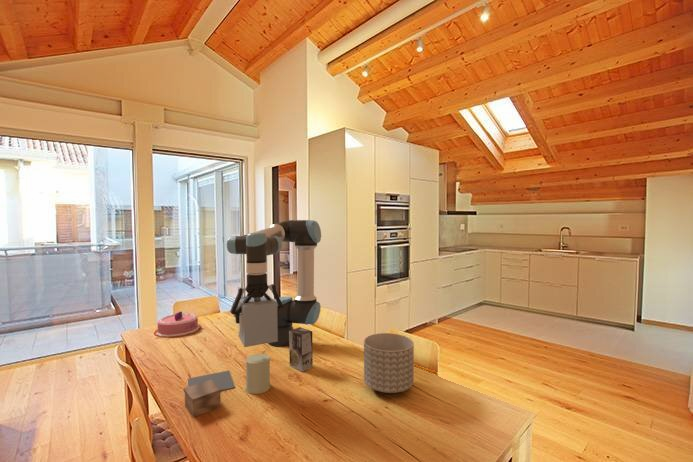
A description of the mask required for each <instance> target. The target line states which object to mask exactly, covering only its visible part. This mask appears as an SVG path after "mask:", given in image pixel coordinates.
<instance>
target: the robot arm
mask: <svg viewBox="0 0 693 462" xmlns="http://www.w3.org/2000/svg"><path fill="white" fill-rule="evenodd" d="M321 238H322V230H321V226H320V224H319V222H317V221H316V220H311V219H302V220H301V219H289V220H284V221H280V222H277V223H274V224H272V225H270V226H269V227H268V228H265V229H261V230H258V231H254V232H249V233H247V234H244V235H233V236H232V235H231V236H229V237H228V239H227V241H226V250H227V251H228V252H229V253H230V254H233V255H246V287H241V286H239V287H238V289H237V295H236V297H235V299H234V301H233V302H232V305H233V306H232V305H231V308H230V313H231V315H233V314H235V315H236V318H235V323H236V324H238V333H239V332H240V333H241V332H242V315H241V311H242V309H241V305H240V306H239V307H238V309H237V310H236V308H237V306H238V304H239V301H240V299H241V297H243V294H245V292H246V293H247V294H246V295H245V297H246V298H245V299H244V300H243V303H248V302H249V300H251V298H257V297H260V298H261V297H263V296H264V297H265V298H266V299H267V300H271V298H272V297H271V296H270V295H268V293H267V292H268V290H269V291H270V292H271V293H272V295H273V297H274V298H272V299H273V300H275V301H276V302H277V325H278V341H277V342H272V343H267V344H268V345H270V346H274V347H286V346H289V331H290V330H293V329H294V327H293V324H298V325H299V324H301V325H314V324H316V323H317V321H318V320H319V318H320V313H321V303H320V302H319V301H318V300H317V299H318V298H317V296H316V295H315V290H314V289H315V287H314V286H315V249H316V248H317V247H318V244H319V243H320V242H321V240H322V239H321ZM284 242H286V243H294V247H295V248H296V249H297V267H296V268H297V279H296V281H297V282H296V283H297V286H296V287H297V288H296V289H297V290H296V292H297V293H296V296H295V297H294V298H293V297H292V296H288V295H287V296H279V294H278V291H277V288H276V284H273V283H271V284H268V274H267V272H268V259H267V258H268V256H271V255H273V256H274V255H276V254H278V253H279V252H280V251H282V248H283V243H284ZM269 296H270V297H271V298H270V297H269Z"/></svg>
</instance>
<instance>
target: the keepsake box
mask: <svg viewBox="0 0 693 462" xmlns="http://www.w3.org/2000/svg"><path fill="white" fill-rule="evenodd" d="M183 392H184V406H185V408H186V410H188V412H189V413H190V415H192V417H193V418H196V417H197V416H200V415H203V414H205V413H208V412H210V411H213V410H216V409H218V408H221V406H222V405H221V402H222V401H221V399H222V398H221V393H223V392H222V389H221V388H220V387H219V386H218V385H217V384H216V383H214V382H213V381H212V380H208V381H205V382H202V383H199V384H196V385H192V386H189V387H188V386H186V387H184V388H183Z"/></svg>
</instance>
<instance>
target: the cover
mask: <svg viewBox="0 0 693 462" xmlns="http://www.w3.org/2000/svg"><path fill="white" fill-rule="evenodd" d="M268 296H269V297H270V298H271V300H267V299H266V298H265V297H264V296H263V297H261V298H260V297H257V298H251V300H249V302H248V303H243V300H244V299H240V301H239V304H238V307H239V306H240V305H241V309H242V311H241V315H242V332H241V333H240V332H239V331H238V338H239V340H240V341H241V343H242V345H243V347H244V348H247V347H252V346H253V347H254V346H259V345H264V344H268V343H272V342H277V341H278V325H277V302H276V301H275V300H273V299H274V298H272V296H270V295H268Z"/></svg>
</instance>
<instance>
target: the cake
mask: <svg viewBox="0 0 693 462" xmlns="http://www.w3.org/2000/svg"><path fill="white" fill-rule="evenodd" d="M198 322H199V319H198V316H197V315H196V314H193V313H183V311H178V312H176V313H175V314H170V315H167V316H164V317H161V318H160V319H158V321H157V329H156V330H155V331H153V335H154V337H155V336H156V337H158V338H165V339H166V338H168V339H169V338H179V337H184V336H189V335H191V334H195V333H197V332H199V331H200V330H202V325H201V324H199V323H198Z"/></svg>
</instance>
